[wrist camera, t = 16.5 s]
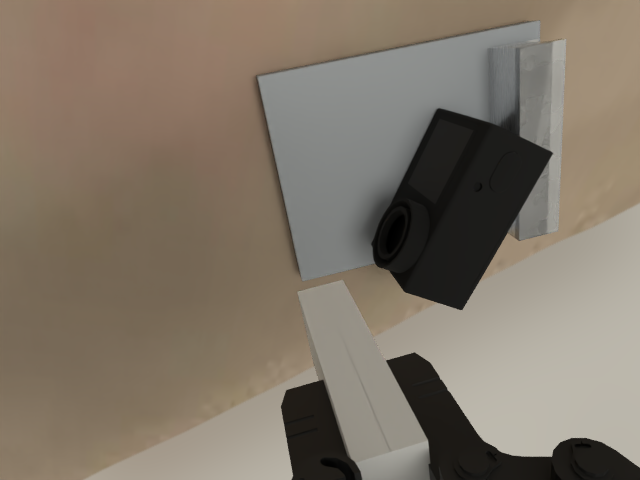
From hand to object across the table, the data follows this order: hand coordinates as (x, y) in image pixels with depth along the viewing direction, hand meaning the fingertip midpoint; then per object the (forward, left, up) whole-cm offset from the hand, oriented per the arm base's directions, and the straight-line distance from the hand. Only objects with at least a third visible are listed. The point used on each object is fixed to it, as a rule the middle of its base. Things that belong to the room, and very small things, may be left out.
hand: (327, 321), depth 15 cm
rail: (+16, 0, -16) cm, 23 cm away
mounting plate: (+9, 0, -18) cm, 20 cm away
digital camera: (+10, -2, -17) cm, 19 cm away
